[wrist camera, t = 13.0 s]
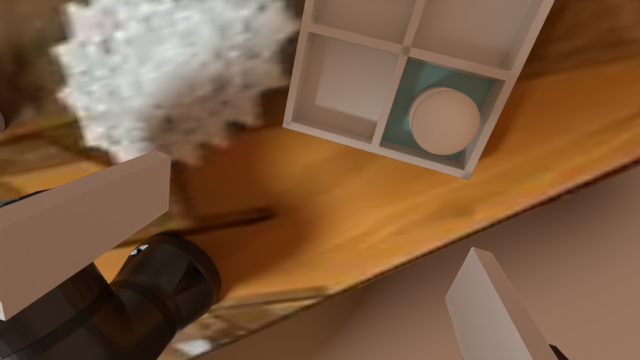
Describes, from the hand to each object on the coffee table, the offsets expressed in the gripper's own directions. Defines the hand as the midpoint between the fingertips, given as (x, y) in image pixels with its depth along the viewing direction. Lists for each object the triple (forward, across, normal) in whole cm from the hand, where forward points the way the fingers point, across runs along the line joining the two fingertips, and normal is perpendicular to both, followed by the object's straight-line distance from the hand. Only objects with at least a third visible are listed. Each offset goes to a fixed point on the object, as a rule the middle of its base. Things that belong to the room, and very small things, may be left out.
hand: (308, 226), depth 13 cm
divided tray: (+24, -3, -9) cm, 25 cm away
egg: (+22, -8, -4) cm, 24 cm away
